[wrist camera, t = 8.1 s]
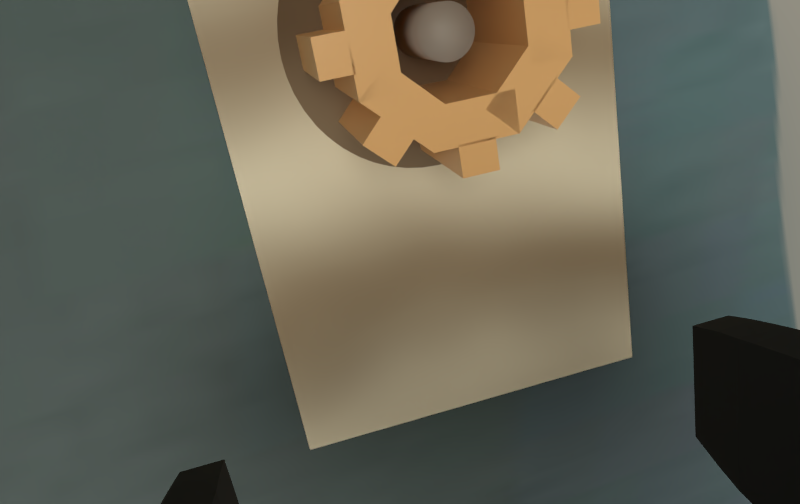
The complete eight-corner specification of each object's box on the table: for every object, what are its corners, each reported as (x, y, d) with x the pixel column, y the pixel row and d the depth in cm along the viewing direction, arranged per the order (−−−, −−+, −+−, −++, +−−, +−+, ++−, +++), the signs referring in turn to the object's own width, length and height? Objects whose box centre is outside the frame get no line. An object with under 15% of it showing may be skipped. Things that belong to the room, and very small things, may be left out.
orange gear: (573, -3, 17) (653, -9, 13) (443, 190, 17) (489, 227, 14) (385, -163, 15) (427, -217, 11) (249, 63, 15) (251, 72, 12)
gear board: (615, 342, 21) (749, 455, 16) (307, 430, 20) (333, 589, 14) (555, -474, 14) (758, -796, 9) (72, -432, 13) (-57, -786, 7)
